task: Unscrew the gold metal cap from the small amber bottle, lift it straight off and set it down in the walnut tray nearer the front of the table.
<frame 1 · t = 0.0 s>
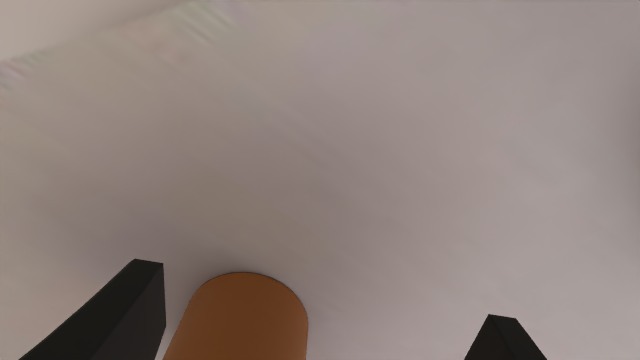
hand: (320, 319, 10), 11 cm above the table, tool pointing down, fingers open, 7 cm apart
amber bottle: (247, 322, 24), on the table
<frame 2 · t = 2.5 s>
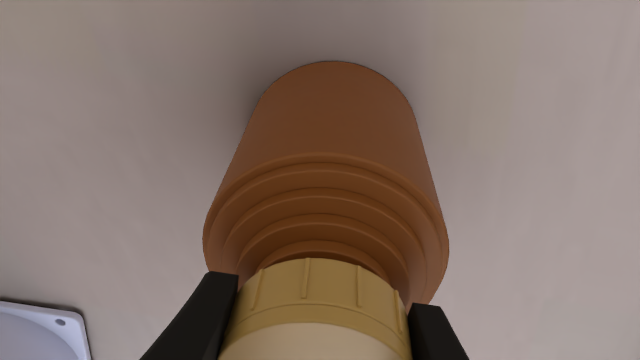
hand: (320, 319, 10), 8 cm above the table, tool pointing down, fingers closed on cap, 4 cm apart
amber bottle: (332, 143, 17), on the table
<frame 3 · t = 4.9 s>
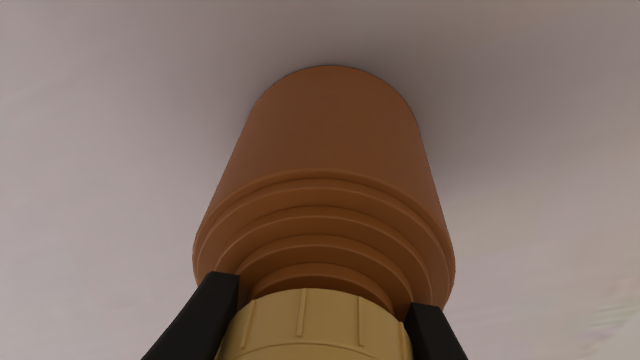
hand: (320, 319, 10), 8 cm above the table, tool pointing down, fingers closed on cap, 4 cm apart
amber bottle: (331, 150, 16), on the table, touching gripper
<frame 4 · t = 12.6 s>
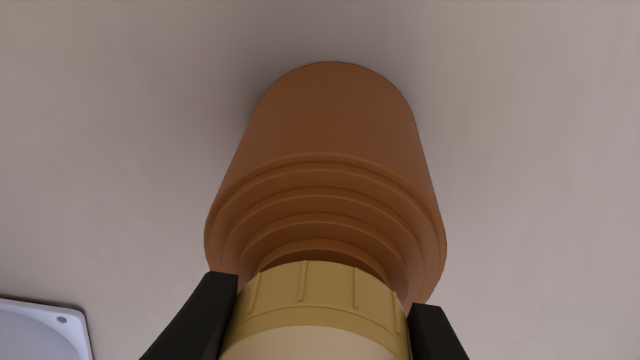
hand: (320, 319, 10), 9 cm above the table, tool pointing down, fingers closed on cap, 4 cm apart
amber bottle: (332, 142, 17), on the table
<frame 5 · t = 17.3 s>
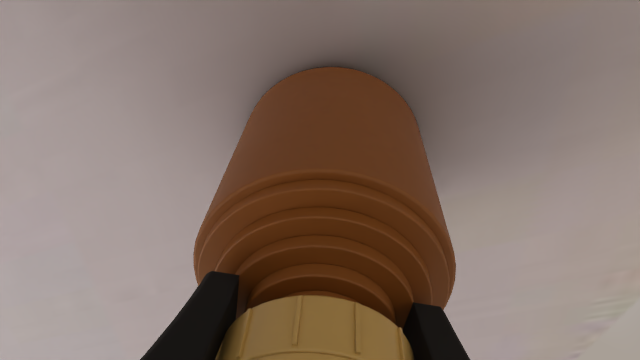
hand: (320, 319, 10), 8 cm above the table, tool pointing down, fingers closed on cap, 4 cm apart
amber bottle: (331, 151, 16), on the table
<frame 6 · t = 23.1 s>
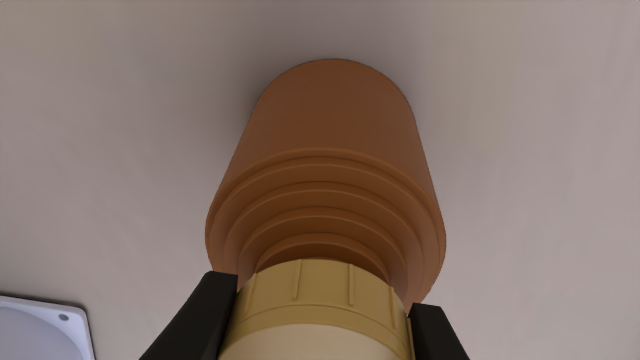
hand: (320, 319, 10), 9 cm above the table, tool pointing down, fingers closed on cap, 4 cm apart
amber bottle: (332, 139, 17), on the table
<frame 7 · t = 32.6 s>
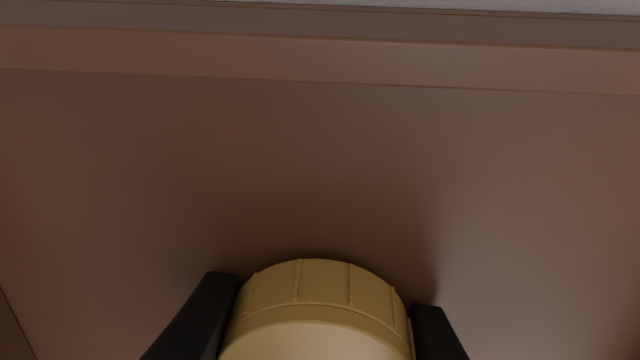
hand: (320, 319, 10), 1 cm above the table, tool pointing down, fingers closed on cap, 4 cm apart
tray: (322, 298, 11), on the table
when the fingers open (2 cm above the table, at t = 39.8 s): cap drops 2 cm, resting on tray.
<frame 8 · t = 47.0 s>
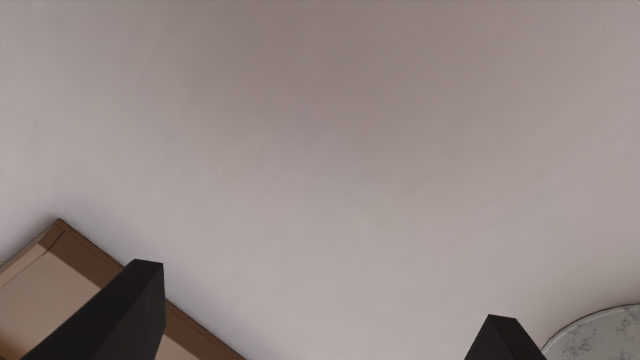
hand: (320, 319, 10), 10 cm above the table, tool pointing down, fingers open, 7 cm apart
tray: (109, 349, 28), on the table
gray speckled cylinder: (620, 357, 26), on the table
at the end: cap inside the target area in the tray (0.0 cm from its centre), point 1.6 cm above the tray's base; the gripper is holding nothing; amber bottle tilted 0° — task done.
